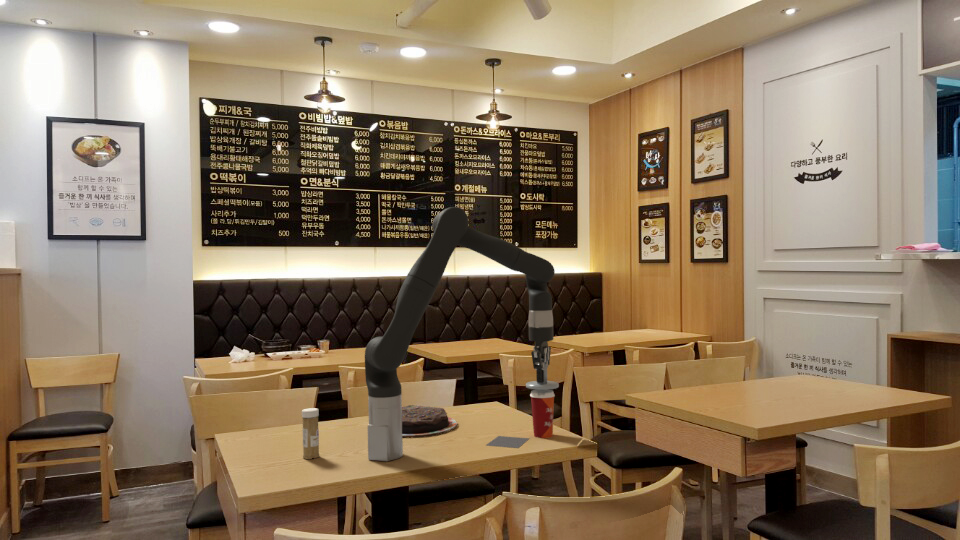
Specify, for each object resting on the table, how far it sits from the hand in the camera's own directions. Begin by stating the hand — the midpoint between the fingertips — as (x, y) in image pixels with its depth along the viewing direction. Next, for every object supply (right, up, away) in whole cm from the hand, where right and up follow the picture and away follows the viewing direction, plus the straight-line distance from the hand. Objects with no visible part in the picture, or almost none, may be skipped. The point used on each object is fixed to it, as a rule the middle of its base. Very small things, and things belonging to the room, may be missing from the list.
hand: (542, 381), depth 195 cm
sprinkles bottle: (-66, -19, -17) cm, 71 cm away
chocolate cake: (-41, -19, +16) cm, 47 cm away
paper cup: (0, -17, 0) cm, 17 cm away
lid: (0, -2, 0) cm, 2 cm away
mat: (-11, -17, -6) cm, 21 cm away
